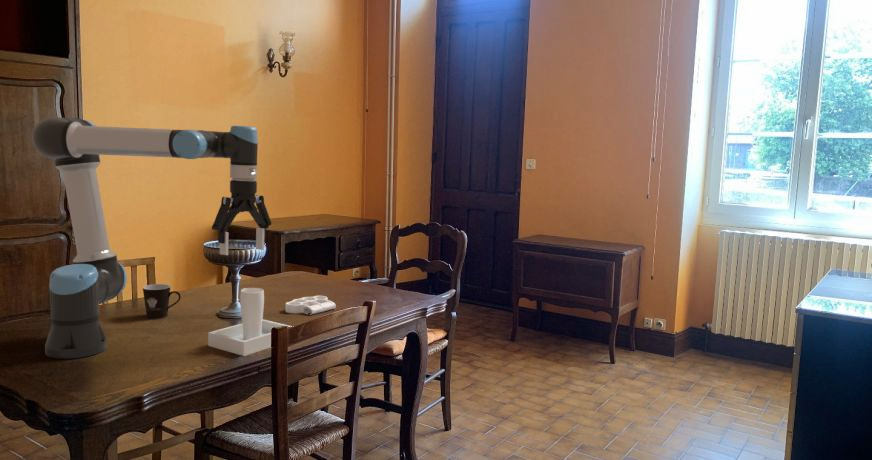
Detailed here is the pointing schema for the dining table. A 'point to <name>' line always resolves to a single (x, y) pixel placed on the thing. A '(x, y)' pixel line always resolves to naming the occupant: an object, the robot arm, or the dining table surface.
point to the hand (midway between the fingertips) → (242, 252)
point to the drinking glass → (252, 312)
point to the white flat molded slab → (310, 305)
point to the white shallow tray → (235, 343)
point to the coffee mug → (157, 300)
